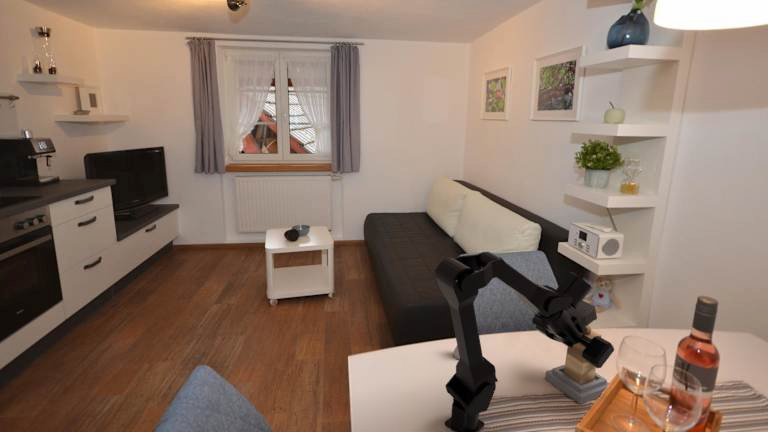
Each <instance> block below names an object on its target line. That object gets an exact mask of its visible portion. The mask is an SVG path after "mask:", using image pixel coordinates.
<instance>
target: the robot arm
mask: <svg viewBox="0 0 768 432" xmlns="http://www.w3.org/2000/svg"><path fill="white" fill-rule="evenodd" d="M434 277H435V281H436V282H437V285H438V288H439V289H440V291H441V293H442V295H443V297H444V298H445V299H446V301H447V302H448V305H449V311H450V315H451V321H452V324H453V329H454V334H455V335H454V336H455V339H456V346H458V351H459V356H460V359H459V360H458V361H457V363H456V366H455V373H454V374H453V376H451V378H450V379H449V381H447V383H446V384H445V390H446V392H447V393H448V394H449V395H450V396H451V397H452V398H453V399H452V400H453V401H452V403H451V404H452V405H451V414H450V415H451V416H450V417H449V418H448V419H446V421H444V425H445V426H446V427H448V428H449V429H450V430H451V431H454V432H479V431H480V430H482V429H483V428H484V427H485V422H484V421H482V420H480V413H484V412H486V411H488V409H489V407H490V405H491V401H492V399H493V397H494V394H495V391H496V389H497V386H496V385H497V383H498V381H499V380H498V378H497V375H496V370H497V369H496V366H495V365H494V364H493V363H492V362H490V361H489V360H488V359H487V358H486V357H485V356H483V351H482V344H481V339H480V338H481V337H480V334H479V326H478V321H477V316H476V309H475V301H476V299H477V297H478V295H479V290H480V289H483V288H486V287H488V285H489V284H490V283H491V281H492V279H496V280H498V281H499V282H500V283H502V284H503V285H505V286H506V287H508V288H509V289H511V290H512V291H513V292H515V294H517V298H519V300H520V301H521V303H523V304H524V306H526V307H528V308H529V309H532V310H533V311H535V312H536V313H534V316H533V317H532V319H531V322H532V324H534V325H535V329H536V330H537V331H538V332H539V333H541V334H542V335H544V336H546V337H547V338H549V339H550V340H553V341H556V342H558V343H562V344H563V345H564V346H566V347H567V348H568V347H569V348H572V347H573V345H575V344H577V343H579V344H581V345H582V346H584V347H586V348H585V349H584V351H583V352H582V358H583V359H584V360H585V361H587V362H588V363H590V364H591V365H593V366H595V367H596V369H602V367H603V366H604V365H605V363H607V360H608V359H609V358H610V357H611V356H612V354H613V352H615V347H614V346H613V344H612V343H611V342H610V341H608V340H606V339H604V338H603V337H602V336H601V337H599V336H595V337H594V338H593V339H590V338H589V337H587V336H585V335H583V333H584V334H585V333H586V332H587V330H588V329H587V328H586V326H588V327H589V325H591V323H593V322H595V321H596V320H597V319H598V314H597V311H596V307H595V306H594V305H592V304H590V303H589V302H588V301H584V299H585V298H586V297H587V296H588V294H589V293H590V292H591V290H592V289H593V287H592V286H591V284H590V283H588V282H586V281H585V280H584V279H583V278H581V277H579V276H578V275H577V274H576V273H574V272H572V271H569V272H568V273H567V274H566V275H565V278H564V279H563V280H562V282H561V283H560V284H559V285H558V287H557V288H554V287H552V286H550V285H548V284H540V283H538V282H535V281H533V280H530V279H529V278H528V277H527V276H525V275H524V274H523V273H521V272H520V271H519V270H517V269H515V268H514V267H513V266H511V264H509V263H507V262H506V261H505V260H504V259H503V257H501V256H498V255H496V254H494V253H493V252H490V251H482V252H479V253H476V254H467V255H459V256H456V257H448V258H445V259H443V260H441V261H440V262H439V263H438V265H437V267H436V268H435V270H434ZM583 339H584V340H583Z"/></svg>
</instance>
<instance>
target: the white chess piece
mask: <svg viewBox="0 0 768 432" xmlns="http://www.w3.org/2000/svg"><path fill="white" fill-rule="evenodd" d="M453 356H454V358H455V359H456V360H458V361H459V359H460V356H459V351H458V346H457V345H456V346H455V348H454V349H453Z"/></svg>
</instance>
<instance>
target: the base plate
mask: <svg viewBox="0 0 768 432" xmlns="http://www.w3.org/2000/svg"><path fill="white" fill-rule="evenodd" d="M564 368H565V364H563V365H560V366H556V367H554V368H551V369H549V370H547V371H545V376H544V378H545V379H546V380H547V381H548V382H549V383H551V384H552V385H554V386H555V387H556V388H558V389H559V390H560V391H562V392H563V393H564V394H566V395H567V396H568V397H570V398H571V399H572V398H573V399H572V400H573V401H575V402H576V401H577V402H576V403H578V404H579V405H582V404H585V403H587V401H588V402H590V401H592V400H595V399H598V398H600V397H599V396H600V395H601V394H602V392H603V391H604V390H605V389H606V388H607V386H608V385H609V384H611V383H609V382H608V380H607V379H606V378H605V377H603V376H601V374H598V373H597V372H595V376H594V381H593V382H590V383H587V384H584V385H582V386H581V385H579V384H578V383H576V382H575V381H574V380H572V379H571V378H569V377H568V376H566V375H565V374H564Z"/></svg>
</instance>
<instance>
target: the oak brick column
mask: <svg viewBox="0 0 768 432" xmlns="http://www.w3.org/2000/svg"><path fill="white" fill-rule="evenodd" d="M586 328H587V329H588V330H587V332H586V333H585V334H584V333H583V335H585V336H587V337H589V338H590V339H593V338H594V337H595V336H599V337H601V338H602V334H600V333H598V331H597V332H596V331H595V330H593V329H592V328H591V327H590V326H589V325H588V326H586ZM583 340H584V339H583ZM585 348H586V347H584V346H582V345H581V344H579V343H577V344H575V345H573V347H572V348H569V347H568V346H567V348H566V356H565V361H564V365H565V368H564V374H565V375H566V376H568V377H569V378H571V379H572V380H574V381H575V382H576V383H578V384H579V385H581V386H582V385H584V384H587V383H590V382H593V381H594V376H595V373H596V369H597V368H596V367H595V366H593V365H591V364H590V363H588V362H587V361H585V360H584V359H583V358H582V352H583V351H584V349H585Z"/></svg>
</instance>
